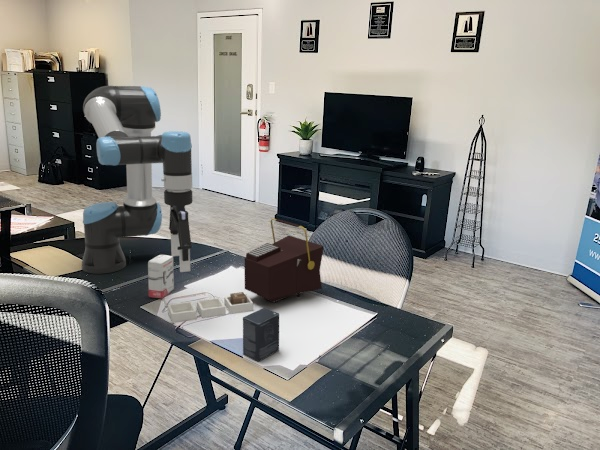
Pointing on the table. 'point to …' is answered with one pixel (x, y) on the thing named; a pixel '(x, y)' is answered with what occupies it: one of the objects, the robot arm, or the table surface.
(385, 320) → the table surface
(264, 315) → the box
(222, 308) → the bins
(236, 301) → the letter cube
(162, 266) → the ink box
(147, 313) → the table surface
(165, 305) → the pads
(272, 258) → the brown boxy machine
